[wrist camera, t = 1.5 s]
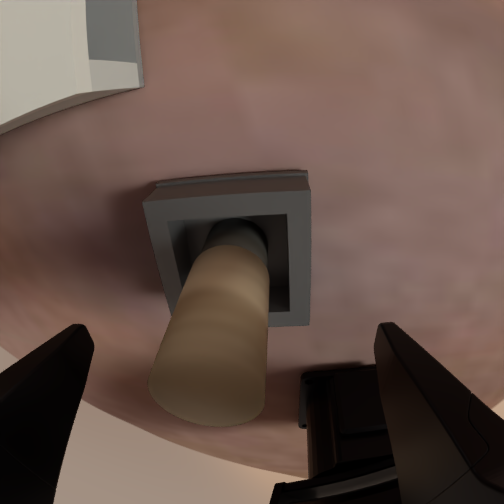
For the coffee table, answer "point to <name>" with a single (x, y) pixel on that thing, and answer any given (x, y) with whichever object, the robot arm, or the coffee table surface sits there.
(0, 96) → the breaker box
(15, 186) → the coffee table surface
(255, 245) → the beige rounded rod
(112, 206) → the coffee table surface
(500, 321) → the coffee table surface
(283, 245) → the holder
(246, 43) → the coffee table surface
